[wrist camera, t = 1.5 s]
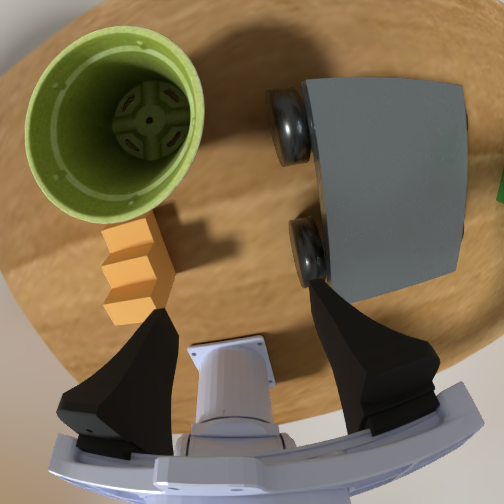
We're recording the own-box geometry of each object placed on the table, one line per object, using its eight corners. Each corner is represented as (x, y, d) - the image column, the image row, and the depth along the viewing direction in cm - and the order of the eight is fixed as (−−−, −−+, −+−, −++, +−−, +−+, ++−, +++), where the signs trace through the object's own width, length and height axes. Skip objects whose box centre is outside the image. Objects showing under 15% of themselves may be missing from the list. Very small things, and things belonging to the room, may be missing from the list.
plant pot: (147, 38, 14) (95, -1, 6) (245, 107, 17) (252, 98, 9) (77, 138, 17) (4, 159, 9) (164, 204, 20) (125, 260, 12)
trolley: (429, 234, 23) (467, 266, 17) (294, 265, 23) (311, 313, 18) (425, 87, 16) (475, 88, 11) (263, 94, 17) (275, 83, 11)
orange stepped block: (176, 273, 23) (161, 319, 18) (136, 281, 23) (115, 325, 18) (152, 208, 20) (126, 242, 15) (110, 221, 20) (77, 256, 15)
